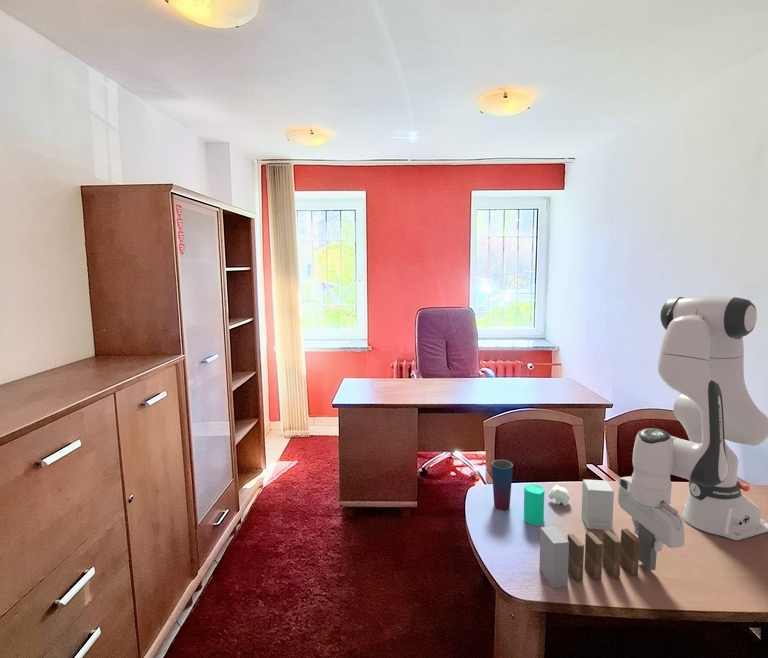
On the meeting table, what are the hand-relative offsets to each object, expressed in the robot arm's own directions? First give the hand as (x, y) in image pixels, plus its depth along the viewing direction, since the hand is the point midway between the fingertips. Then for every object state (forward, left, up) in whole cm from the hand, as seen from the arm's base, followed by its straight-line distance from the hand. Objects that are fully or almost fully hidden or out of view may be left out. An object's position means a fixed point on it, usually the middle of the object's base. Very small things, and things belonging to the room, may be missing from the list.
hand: (647, 542), depth 117 cm
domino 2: (+15, 0, -7) cm, 17 cm away
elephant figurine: (+6, -34, -8) cm, 35 cm away
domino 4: (+5, 0, -7) cm, 9 cm away
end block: (+26, 0, -7) cm, 27 cm away
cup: (+26, -35, -8) cm, 44 cm away
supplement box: (+1, -21, -8) cm, 22 cm away
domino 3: (+10, 0, -7) cm, 12 cm away
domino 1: (+20, 0, -7) cm, 21 cm away
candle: (+19, -26, -8) cm, 33 cm away
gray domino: (0, 0, -6) cm, 6 cm away
